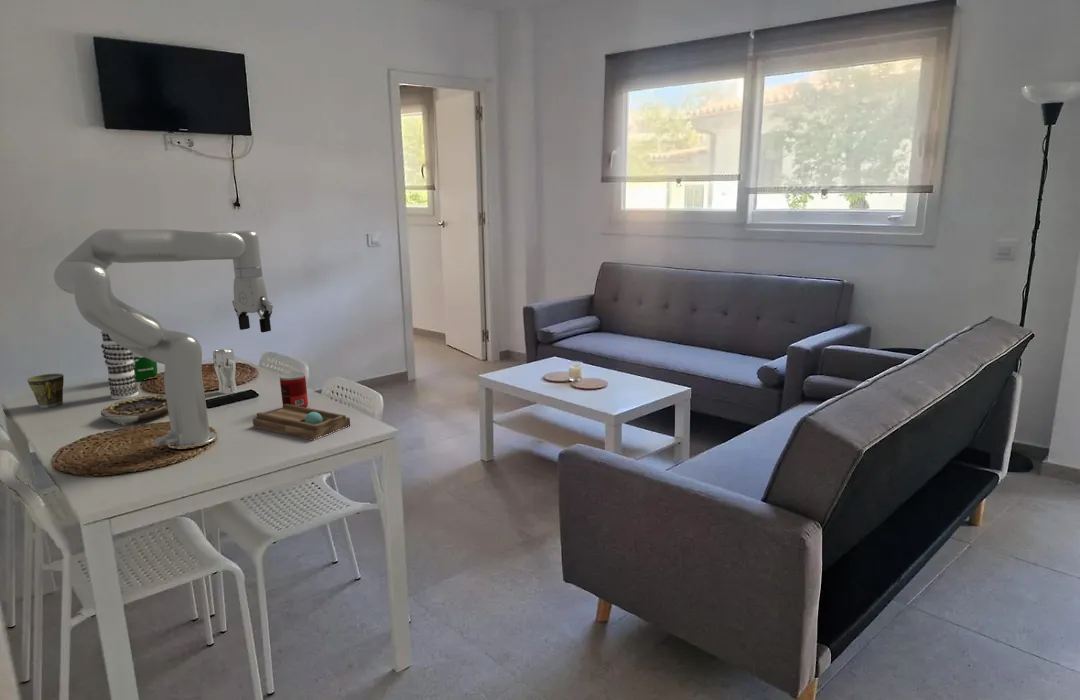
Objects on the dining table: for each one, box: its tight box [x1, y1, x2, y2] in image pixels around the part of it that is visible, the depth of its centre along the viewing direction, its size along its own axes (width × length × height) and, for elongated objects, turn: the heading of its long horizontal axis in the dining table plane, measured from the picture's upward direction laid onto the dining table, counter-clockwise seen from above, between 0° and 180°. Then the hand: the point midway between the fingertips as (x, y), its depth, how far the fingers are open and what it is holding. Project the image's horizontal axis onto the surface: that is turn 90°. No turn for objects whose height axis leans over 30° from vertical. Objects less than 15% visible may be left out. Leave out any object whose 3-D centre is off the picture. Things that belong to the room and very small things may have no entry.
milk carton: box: [130, 351, 158, 383], centre depth 261 cm, size 9×9×20 cm
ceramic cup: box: [27, 372, 64, 409], centre depth 229 cm, size 13×10×10 cm
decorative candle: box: [99, 330, 139, 400], centre depth 238 cm, size 9×9×25 cm
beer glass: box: [212, 348, 238, 395], centre depth 240 cm, size 7×7×15 cm
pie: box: [100, 394, 169, 426], centre depth 217 cm, size 28×27×5 cm
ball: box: [305, 412, 323, 425], centre depth 200 cm, size 5×5×5 cm
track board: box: [252, 404, 351, 441], centre depth 202 cm, size 14×26×4 cm, turn 59°
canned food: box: [279, 371, 309, 409], centre depth 220 cm, size 8×8×11 cm
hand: (255, 330), depth 203 cm, fingers open, 9 cm apart
